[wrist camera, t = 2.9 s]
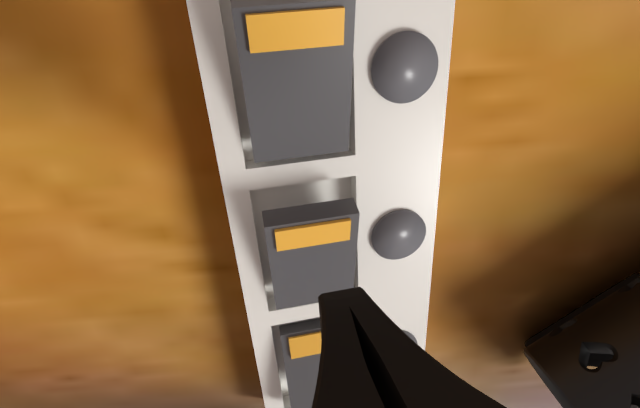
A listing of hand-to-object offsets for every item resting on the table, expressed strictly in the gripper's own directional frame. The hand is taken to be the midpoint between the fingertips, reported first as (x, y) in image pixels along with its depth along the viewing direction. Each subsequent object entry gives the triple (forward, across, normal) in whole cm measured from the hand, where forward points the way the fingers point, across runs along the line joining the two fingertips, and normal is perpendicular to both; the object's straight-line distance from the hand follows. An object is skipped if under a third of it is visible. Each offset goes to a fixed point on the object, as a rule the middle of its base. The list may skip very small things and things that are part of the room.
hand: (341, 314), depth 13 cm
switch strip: (+9, -2, +2) cm, 10 cm away
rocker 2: (+6, 0, +10) cm, 12 cm away
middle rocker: (+6, 0, +2) cm, 7 cm away
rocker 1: (+6, 0, -6) cm, 9 cm away
